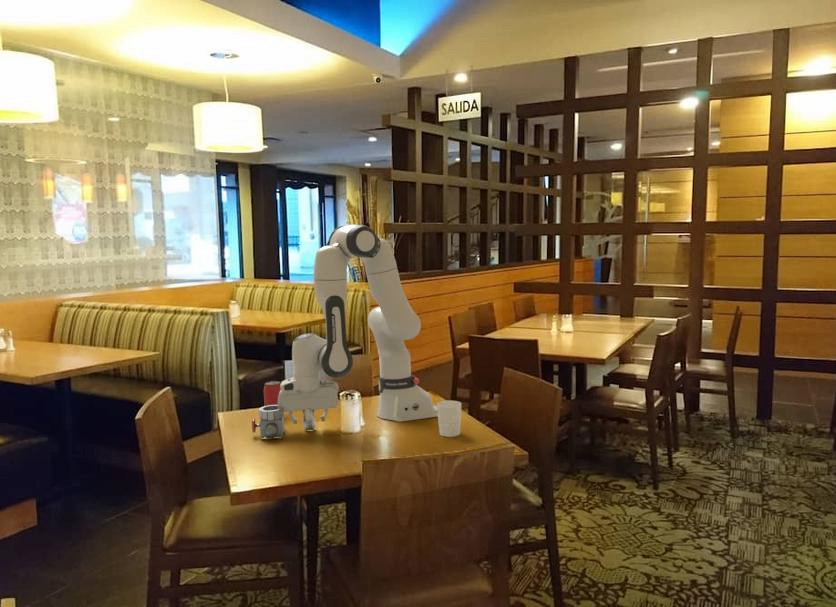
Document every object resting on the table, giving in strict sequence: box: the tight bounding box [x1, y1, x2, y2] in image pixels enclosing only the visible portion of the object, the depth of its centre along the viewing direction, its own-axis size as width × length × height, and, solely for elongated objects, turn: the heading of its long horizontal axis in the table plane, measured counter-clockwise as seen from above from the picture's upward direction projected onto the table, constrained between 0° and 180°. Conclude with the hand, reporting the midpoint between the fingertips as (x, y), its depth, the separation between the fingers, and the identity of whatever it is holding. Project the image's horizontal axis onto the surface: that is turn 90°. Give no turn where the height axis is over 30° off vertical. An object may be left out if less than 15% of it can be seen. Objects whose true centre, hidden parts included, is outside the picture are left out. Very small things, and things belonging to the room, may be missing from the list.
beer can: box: [263, 380, 281, 406], centre depth 233 cm, size 7×7×12 cm
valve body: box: [251, 405, 285, 439], centre depth 210 cm, size 10×14×9 cm
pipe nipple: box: [302, 408, 316, 431], centre depth 214 cm, size 4×4×8 cm
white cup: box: [436, 400, 462, 438], centre depth 205 cm, size 8×8×10 cm
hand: (309, 422), depth 214 cm, fingers open, 8 cm apart
